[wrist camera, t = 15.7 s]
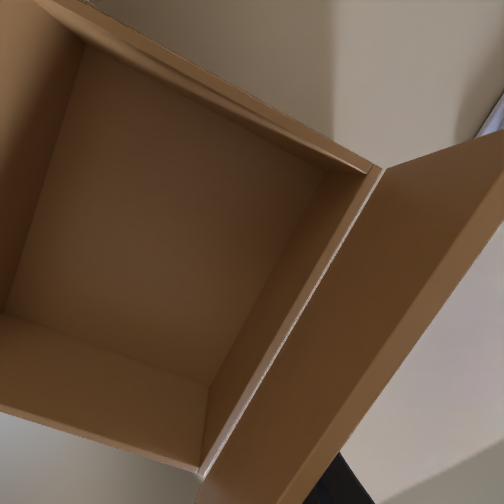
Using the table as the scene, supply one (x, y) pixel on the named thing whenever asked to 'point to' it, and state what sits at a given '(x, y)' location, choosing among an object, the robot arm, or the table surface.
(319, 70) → the table surface
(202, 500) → the flap
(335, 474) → the robot arm
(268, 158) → the carton
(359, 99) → the table surface
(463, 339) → the table surface
